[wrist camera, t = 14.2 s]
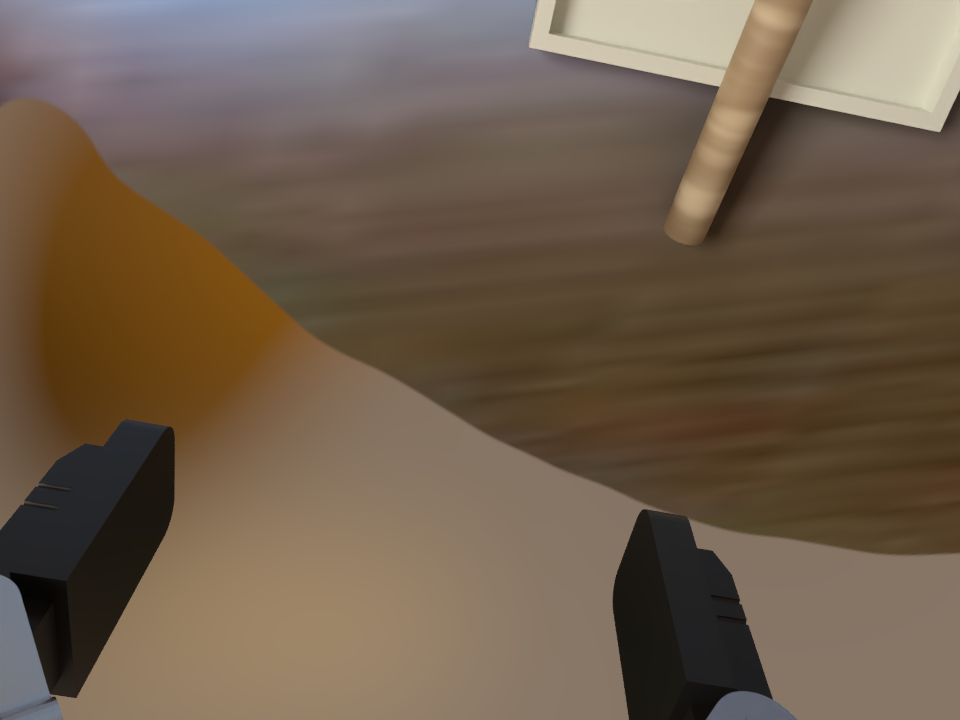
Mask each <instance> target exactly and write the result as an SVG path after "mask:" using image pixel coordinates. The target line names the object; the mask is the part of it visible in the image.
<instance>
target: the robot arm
mask: <svg viewBox="0 0 960 720" xmlns="http://www.w3.org/2000/svg"><path fill="white" fill-rule="evenodd" d="M174 470H175V437H174V431H173V428H172V427H169V426H163V425H157V424H151V423H145V422H140V421H134V420H128V419H126V420H124V421H123V422H121V424H120V425H119V426H118V427H117V429H116V430H115V431H114V433H113V434H112V436H111V437H110V438H109V439H108V441H107V442H106V444H105V445H104V446H103V447H102V446H96V445H90V444H84V445H82V446H80V447H79V448H77V449H75V450H74V451H72V452H70V453H69V454H67V455H66V456H64V457H62V458H60V459H59V460H57V461H56V462H55V464H54V465H53V466H52V467H51V469H50V470H49V471H48V472H47V473H46V475H45V476H44V477H43V479H42V480H41V481H40V482H39V486H38V487H35V488H34V490H33V491H32V492H31V493H30V494H29V496H28V497H27V498H26V499H25V502H24V505H20V507H19V508H18V509H17V510H16V512H15V513H14V514H13V515H12V517H11V518H10V519H9V520H8V521H7V523H6V524H5V525H4V526H3V528H2V529H1V530H0V720H63V717H62V714H61V711H60V707H59V705H58V702H57V700H56V698H55V697H52V698H51V696H50V694H53V695H59V696H67V697H73V698H77V695H78V694H79V692H80V690H81V688H82V686H83V685H84V683H85V681H86V679H87V677H88V675H89V674H90V672H91V670H92V668H93V666H94V664H95V663H96V661H97V659H98V657H99V655H100V653H101V651H102V650H103V648H104V646H105V644H106V642H107V641H108V639H109V637H110V635H111V633H112V631H113V630H114V628H115V626H116V624H117V622H118V620H119V619H120V617H121V615H122V613H123V611H124V609H125V608H126V606H127V604H128V602H129V600H130V598H131V597H132V595H133V593H134V591H135V589H136V587H137V585H138V583H139V582H140V580H141V578H142V576H143V575H144V573H145V571H146V569H147V567H148V565H149V564H150V562H151V560H152V558H153V556H154V554H155V552H156V551H157V549H158V547H159V545H160V543H161V541H162V540H163V538H164V536H165V534H166V531H167V529H168V526H169V523H170V520H171V516H172V512H173V506H174V480H175V478H174V477H175V476H174V475H175V471H174ZM739 601H740V599H739V595H738V593H737V589H736V586H735V583H734V581H733V578H732V575H731V573H730V572H729V571H728V569H727V568H726V567H725V566H724V565H723V563H722V562H721V561H720V559H719V558H718V557H717V556H716V554H715V553H714V552H713V551H710V550H704V549H698V548H697V547H696V543H695V540H694V536H693V533H692V529H691V526H690V523H689V520H688V518H687V517H686V516H681V515H675V514H669V513H663V512H658V511H652V510H646V509H644V510H642V511H641V512H640V514H639V515H638V517H637V520H636V523H635V525H634V528H633V531H632V533H631V536H630V539H629V541H628V544H627V547H626V550H625V553H624V555H623V558H622V561H621V563H620V566H619V569H618V571H617V575H616V578H615V583H614V590H613V613H614V620H615V627H616V633H617V640H618V647H619V654H620V661H621V668H622V674H623V681H624V688H625V694H626V701H627V709H628V715H629V720H797V719H796V718H795V716H794V715H792V714H791V713H790V712H789V711H788V710H787V709H786V708H784V707H783V706H782V705H780V704H779V703H777V702H776V701H774V700H773V699H772V695H771V692H770V689H769V686H768V684H767V681H766V677H765V675H764V671H763V668H762V665H761V662H760V659H759V656H758V653H757V650H756V647H755V644H754V641H753V638H752V635H751V632H750V629H749V626H748V625H746V617H745V614H744V611H743V608H742V605H741V604H739Z"/></svg>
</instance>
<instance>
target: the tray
mask: <svg viewBox="0 0 960 720" xmlns="http://www.w3.org/2000/svg"><path fill="white" fill-rule="evenodd" d="M754 1H755V0H537V3H536V8H535V13H534V17H533V22H532V27H531V32H530V37H529V47H530V48H535V49H539V50H544V51H549V52H554V53H559V54H564V55H568V56H573V57H578V58H583V59H588V60H593V61H597V62H602V63H607V64H612V65H617V66H622V67H627V68H631V69H636V70H641V71H646V72H651V73H656V74H660V75H665V76H670V77H675V78H680V79H685V80H689V81H694V82H699V83H704V84H709V85H714V86H718V87H720V85H721V82H722V80H723V77H724V75H725V73H726V70H727V68H728V65H729V63H730V60H731V58H732V55H733V53H734V50H735V48H736V45H737V43H738V41H739V38H740V36H741V33H742V31H743V28H744V26H745V23H746V21H747V18H748V16H749V14H750V11H751V9H752V6H753V4H754ZM959 90H960V0H813V2H812V4H811V6H810V9H809V11H808V13H807V15H806V17H805V20H804V22H803V24H802V26H801V28H800V31H799V33H798V35H797V37H796V39H795V42H794V44H793V46H792V48H791V50H790V53H789V55H788V57H787V59H786V61H785V64H784V66H783V68H782V70H781V72H780V74H779V77H778V79H777V81H776V83H775V85H774V88H773V90H772V92H771V94H770V96H769V97H772V98H776V99H781V100H786V101H791V102H796V103H801V104H805V105H810V106H815V107H820V108H825V109H830V110H835V111H839V112H844V113H849V114H854V115H859V116H864V117H868V118H873V119H878V120H883V121H888V122H893V123H897V124H902V125H907V126H912V127H917V128H922V129H926V130H931V131H936V132H940V131H941V129H942V127H943V124H944V122H945V120H946V118H947V116H948V114H949V112H950V109H951V107H952V105H953V103H954V101H955V99H956V97H957V94H958V92H959Z"/></svg>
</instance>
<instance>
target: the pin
mask: <svg viewBox="0 0 960 720" xmlns="http://www.w3.org/2000/svg"><path fill="white" fill-rule="evenodd" d="M812 2H813V0H755V1H754V4H753V6H752V9H751V11H750V14H749V16H748V18H747V21H746V23H745V26H744V28H743V31H742V33H741V36H740V38H739V41H738V43H737V45H736V48H735V50H734V53H733V55H732V58H731V60H730V63H729V65H728V68H727V70H726V73H725V75H724V77H723V80H722V82H721V85H720V87H719V90H718V92H717V95H716V97H715V100H714V102H713V104H712V107H711V109H710V112H709V114H708V117H707V119H706V122H705V124H704V127H703V129H702V132H701V134H700V136H699V139H698V141H697V144H696V146H695V149H694V151H693V154H692V156H691V159H690V161H689V163H688V166H687V168H686V171H685V173H684V176H683V178H682V181H681V183H680V186H679V188H678V190H677V193H676V195H675V198H674V200H673V203H672V205H671V208H670V210H669V213H668V215H667V218H666V220H665V222H664V225H663V229H664V231H665V233H666V234H667V235H668V236H669V237H670V238H671V239H673V240H675V241H677V242H679V243H682V244H686V245H698V244H701V243H702V242H703V241H704V239H705V237H706V235H707V232H708V230H709V228H710V226H711V224H712V221H713V219H714V217H715V215H716V213H717V210H718V208H719V206H720V204H721V202H722V199H723V197H724V195H725V193H726V191H727V189H728V186H729V184H730V182H731V180H732V178H733V175H734V173H735V171H736V169H737V167H738V164H739V162H740V160H741V158H742V156H743V153H744V151H745V149H746V147H747V145H748V142H749V140H750V138H751V136H752V134H753V131H754V129H755V127H756V125H757V123H758V121H759V118H760V116H761V114H762V112H763V110H764V107H765V105H766V103H767V101H768V99H769V96H770V94H771V92H772V90H773V88H774V85H775V83H776V81H777V79H778V77H779V74H780V72H781V70H782V68H783V66H784V64H785V61H786V59H787V57H788V55H789V53H790V50H791V48H792V46H793V44H794V42H795V39H796V37H797V35H798V33H799V31H800V28H801V26H802V24H803V22H804V20H805V17H806V15H807V13H808V11H809V9H810V6H811V4H812Z"/></svg>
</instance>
